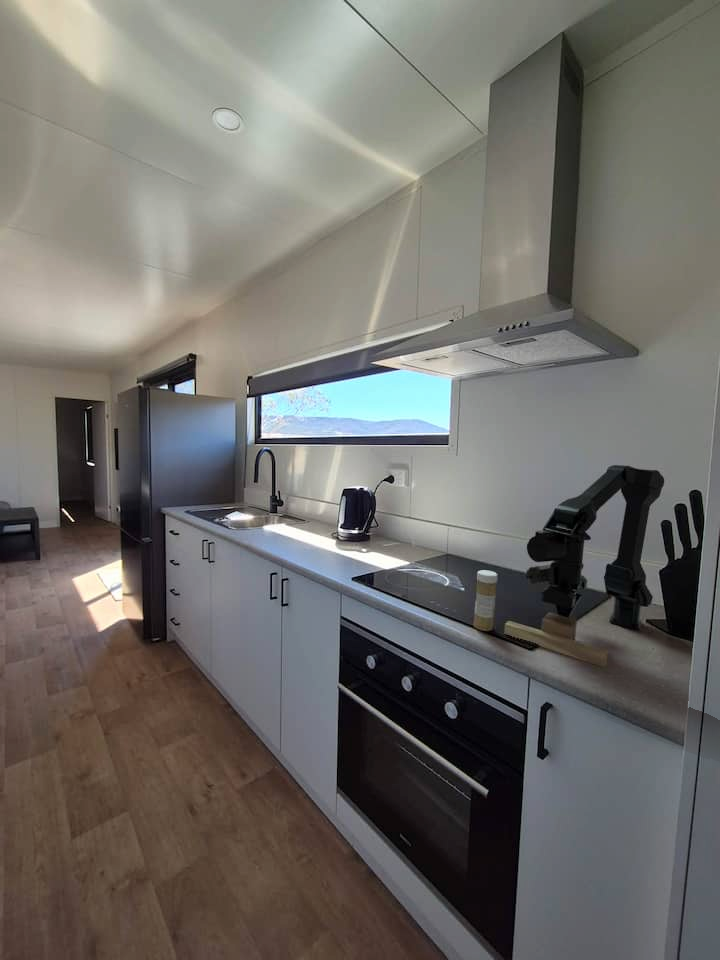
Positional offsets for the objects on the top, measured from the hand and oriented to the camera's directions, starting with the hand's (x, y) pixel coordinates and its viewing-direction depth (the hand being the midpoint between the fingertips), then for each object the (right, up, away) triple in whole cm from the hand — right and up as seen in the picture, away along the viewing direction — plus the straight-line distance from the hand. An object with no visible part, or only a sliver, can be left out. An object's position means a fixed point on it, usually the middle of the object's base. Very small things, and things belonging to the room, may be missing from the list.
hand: (562, 623), depth 94 cm
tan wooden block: (-3, -3, -3) cm, 5 cm away
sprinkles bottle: (-18, -2, +2) cm, 18 cm away
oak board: (-6, -3, -7) cm, 9 cm away
